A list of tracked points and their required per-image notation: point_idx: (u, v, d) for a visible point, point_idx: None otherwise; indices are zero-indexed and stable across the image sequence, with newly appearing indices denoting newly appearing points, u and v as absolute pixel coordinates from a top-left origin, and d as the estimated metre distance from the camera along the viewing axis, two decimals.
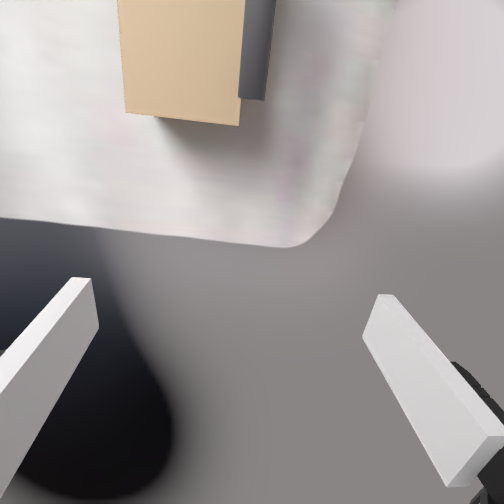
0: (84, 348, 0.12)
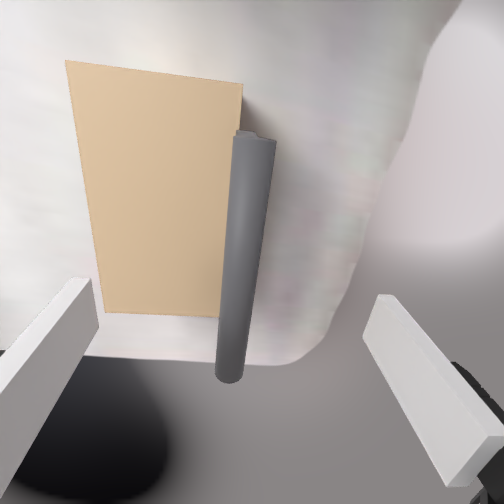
0: (84, 348, 0.12)
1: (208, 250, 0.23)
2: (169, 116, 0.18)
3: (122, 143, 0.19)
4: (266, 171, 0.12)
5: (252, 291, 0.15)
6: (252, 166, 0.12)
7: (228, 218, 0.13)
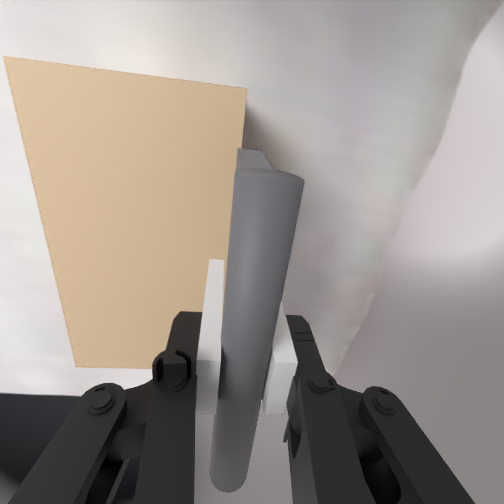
0: None
1: (202, 295, 0.18)
2: (149, 131, 0.14)
3: (88, 166, 0.14)
4: (288, 228, 0.07)
5: (262, 386, 0.10)
6: (266, 222, 0.07)
7: (227, 292, 0.09)
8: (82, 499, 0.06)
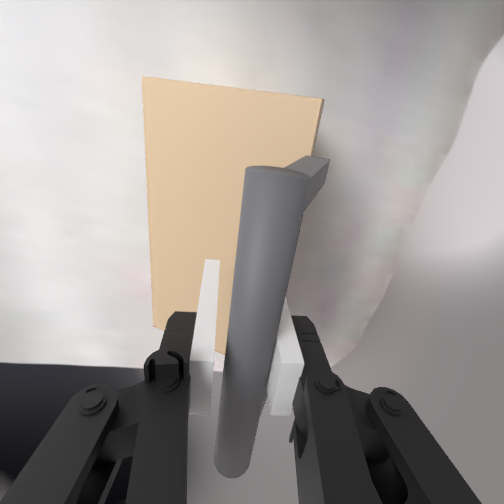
0: None
1: None
2: (231, 135, 0.16)
3: (183, 162, 0.17)
4: (284, 223, 0.08)
5: (259, 379, 0.11)
6: (260, 213, 0.08)
7: (233, 276, 0.09)
8: (73, 500, 0.06)
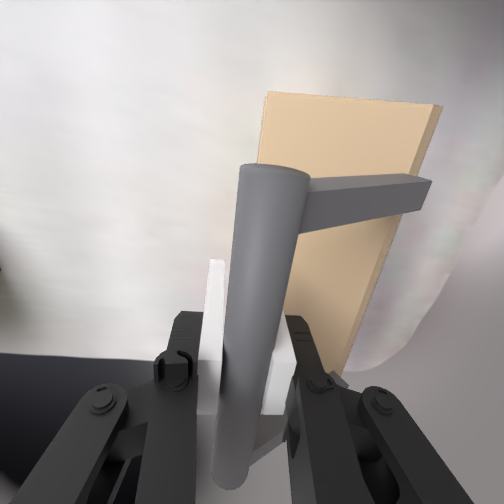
0: None
1: (327, 319, 0.17)
2: (329, 146, 0.15)
3: None
4: (261, 223, 0.07)
5: (242, 391, 0.10)
6: (241, 209, 0.07)
7: None
8: (84, 499, 0.06)
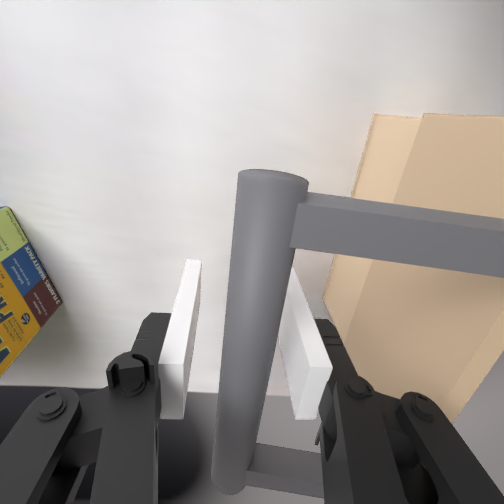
0: (197, 318, 0.14)
1: None
2: (465, 179, 0.11)
3: (416, 203, 0.15)
4: (240, 222, 0.07)
5: (226, 388, 0.10)
6: (236, 207, 0.08)
7: None
8: None
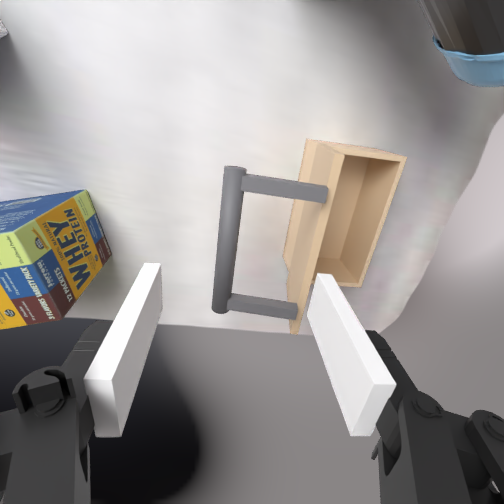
0: (156, 325, 0.14)
1: (302, 271, 0.29)
2: (319, 172, 0.28)
3: None
4: (224, 182, 0.23)
5: (219, 251, 0.26)
6: None
7: None
8: None
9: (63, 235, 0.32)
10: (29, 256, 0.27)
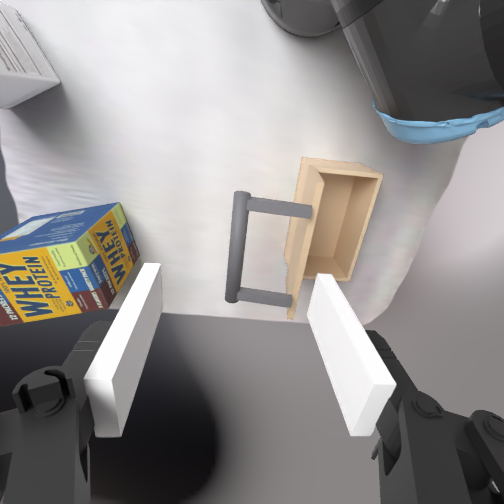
0: (156, 324, 0.14)
1: (295, 269, 0.37)
2: (308, 192, 0.35)
3: (303, 200, 0.39)
4: (234, 204, 0.31)
5: (230, 255, 0.34)
6: None
7: None
8: None
9: (106, 242, 0.41)
10: (86, 260, 0.35)
